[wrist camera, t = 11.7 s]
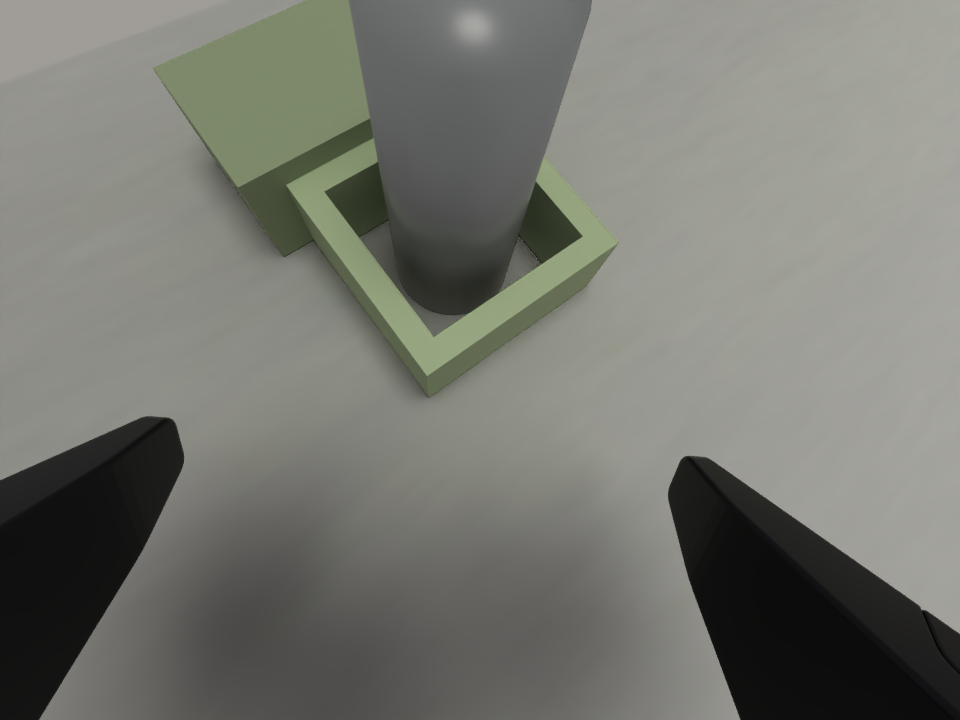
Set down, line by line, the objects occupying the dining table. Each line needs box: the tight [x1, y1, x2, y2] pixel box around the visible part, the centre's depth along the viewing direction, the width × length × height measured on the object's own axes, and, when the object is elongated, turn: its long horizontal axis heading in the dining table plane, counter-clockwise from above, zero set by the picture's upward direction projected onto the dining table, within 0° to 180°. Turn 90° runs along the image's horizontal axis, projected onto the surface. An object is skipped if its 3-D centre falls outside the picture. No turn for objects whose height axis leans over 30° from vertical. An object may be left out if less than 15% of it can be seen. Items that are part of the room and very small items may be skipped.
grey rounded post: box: [349, 0, 592, 315], centre depth 15 cm, size 5×5×12 cm
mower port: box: [153, 0, 619, 397], centre depth 19 cm, size 15×12×5 cm
